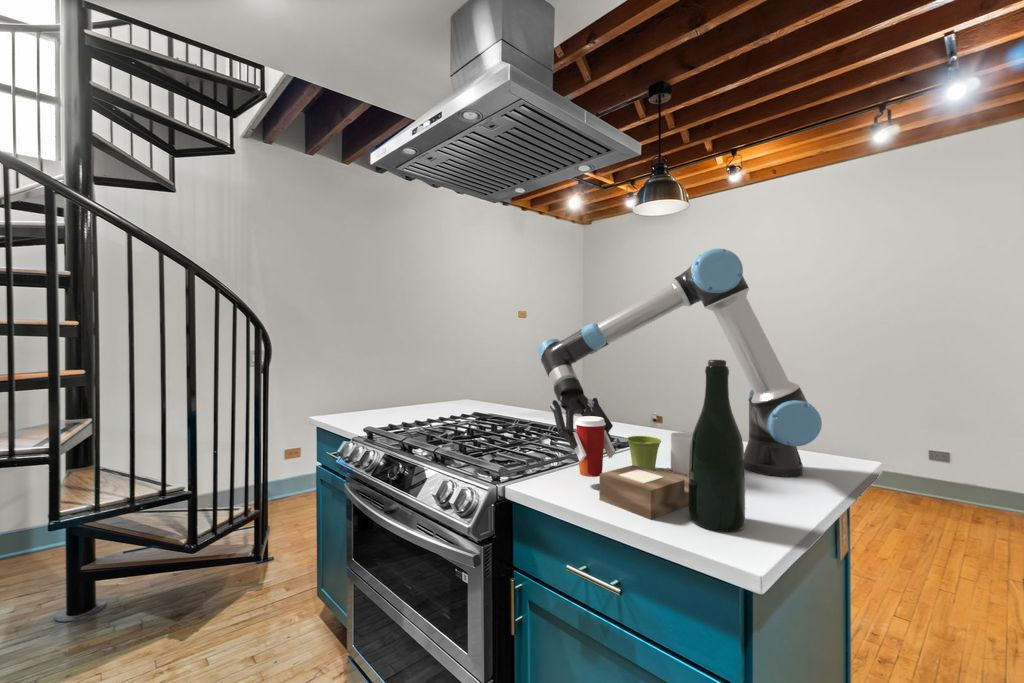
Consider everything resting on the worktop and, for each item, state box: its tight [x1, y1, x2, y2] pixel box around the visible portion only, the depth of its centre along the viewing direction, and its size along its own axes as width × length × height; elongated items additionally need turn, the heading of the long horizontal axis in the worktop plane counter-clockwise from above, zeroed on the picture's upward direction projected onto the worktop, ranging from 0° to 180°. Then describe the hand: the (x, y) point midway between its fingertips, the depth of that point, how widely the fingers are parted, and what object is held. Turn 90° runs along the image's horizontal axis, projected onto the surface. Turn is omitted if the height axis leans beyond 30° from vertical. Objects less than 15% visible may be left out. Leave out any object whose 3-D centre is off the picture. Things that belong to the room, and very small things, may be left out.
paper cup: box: [574, 416, 606, 478], centre depth 112 cm, size 8×8×14 cm
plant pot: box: [626, 435, 662, 471], centre depth 126 cm, size 9×9×9 cm
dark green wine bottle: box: [687, 359, 746, 532], centre depth 90 cm, size 10×10×33 cm
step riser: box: [598, 464, 689, 520], centre depth 104 cm, size 24×14×6 cm, turn 126°
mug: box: [670, 431, 693, 476], centre depth 123 cm, size 12×8×10 cm
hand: (597, 456), depth 109 cm, fingers closed on paper cup, 8 cm apart
